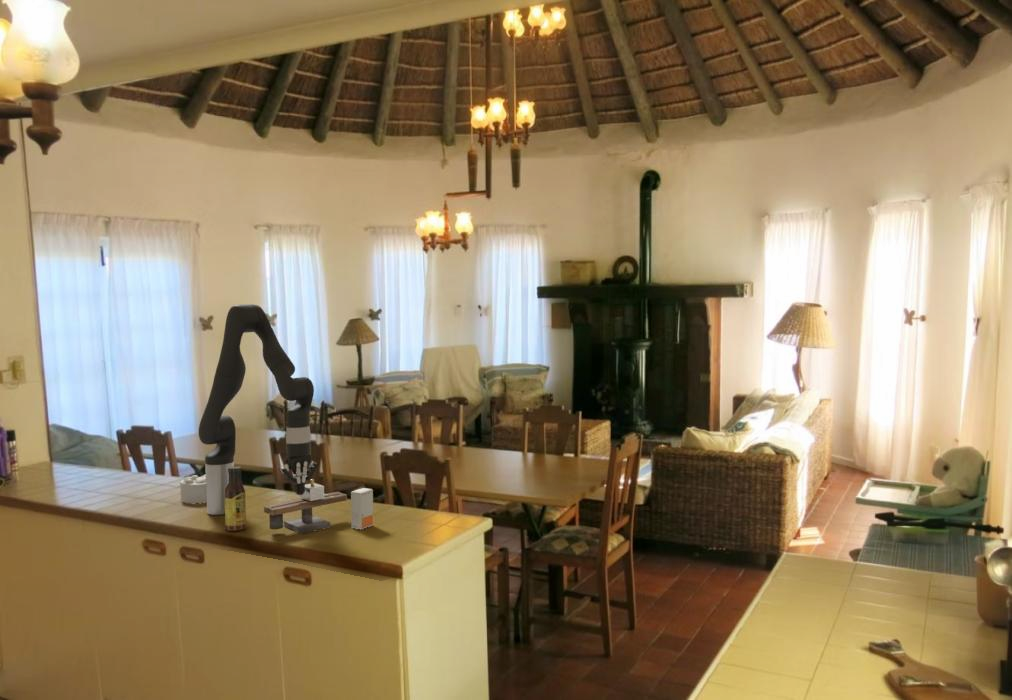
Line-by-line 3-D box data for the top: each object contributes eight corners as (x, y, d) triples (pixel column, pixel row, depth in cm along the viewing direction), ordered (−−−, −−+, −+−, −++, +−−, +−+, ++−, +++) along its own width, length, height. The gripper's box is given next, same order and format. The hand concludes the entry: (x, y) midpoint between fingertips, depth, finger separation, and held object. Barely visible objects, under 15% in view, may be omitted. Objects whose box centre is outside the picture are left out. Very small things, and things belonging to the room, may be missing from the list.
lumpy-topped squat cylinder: (198, 505, 273) (197, 481, 272) (173, 501, 278) (172, 478, 278) (221, 498, 282) (220, 475, 281) (196, 494, 288) (195, 472, 287)
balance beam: (260, 531, 239) (259, 504, 239) (333, 515, 257) (332, 489, 257) (278, 539, 231) (277, 511, 230) (352, 522, 248) (351, 496, 248)
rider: (300, 503, 246) (300, 479, 245) (314, 500, 249) (314, 476, 248) (310, 506, 241) (309, 482, 240) (324, 503, 244) (323, 479, 244)
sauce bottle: (239, 532, 238) (237, 470, 237) (221, 531, 240) (219, 469, 238) (250, 526, 245) (248, 465, 244) (232, 525, 246) (230, 465, 245)
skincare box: (361, 530, 239) (360, 493, 238) (351, 528, 241) (350, 491, 241) (374, 525, 244) (373, 489, 244) (364, 523, 246) (363, 487, 246)
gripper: (311, 436, 248) (313, 488, 249) (273, 441, 239) (275, 495, 240) (323, 439, 242) (324, 492, 243) (284, 444, 233) (285, 500, 234)
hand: (299, 494), depth 242 cm, fingers closed
